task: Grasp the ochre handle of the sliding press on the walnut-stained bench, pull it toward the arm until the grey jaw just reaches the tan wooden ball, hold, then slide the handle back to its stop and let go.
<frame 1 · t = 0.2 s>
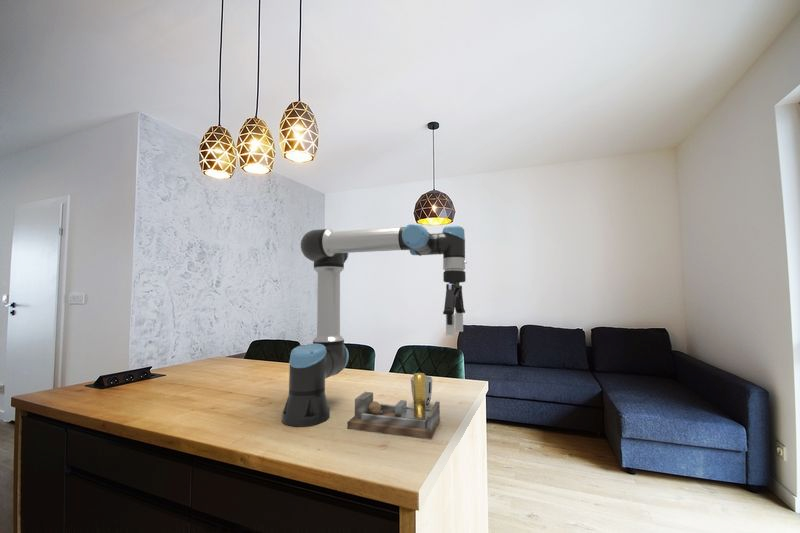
hand: (455, 333, 106), 28 cm above the worktop, fingers open, 13 cm apart
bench: (394, 424, 99), on the worktop
lever: (413, 396, 98), point 9 cm above the worktop, slide at 0.0 cm
cup: (421, 406, 117), on the worktop
nut: (374, 414, 101), point 2 cm above the worktop, touching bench
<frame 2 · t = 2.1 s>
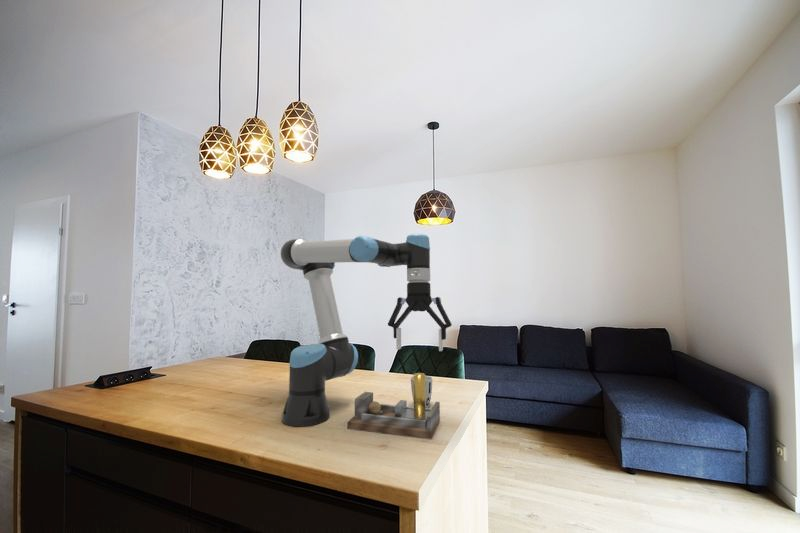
hand: (419, 349, 99), 23 cm above the worktop, fingers open, 13 cm apart
nothing on the worktop moved.
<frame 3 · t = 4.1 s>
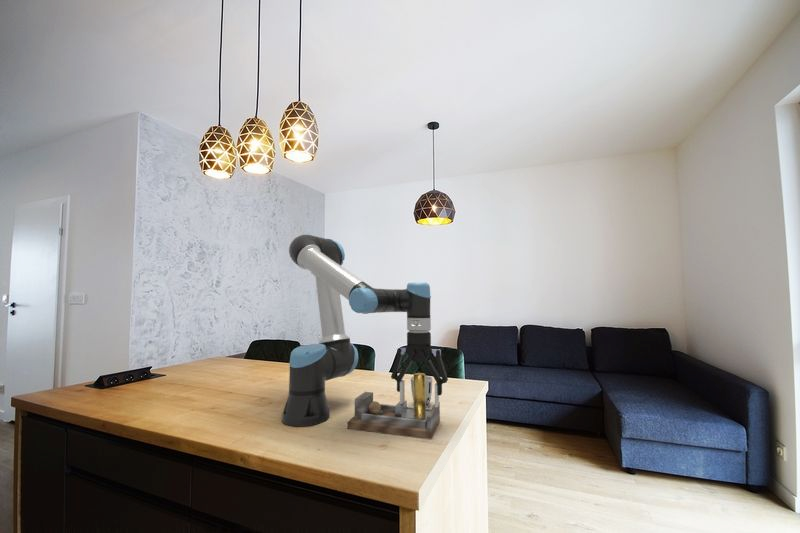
hand: (419, 404, 97), 7 cm above the worktop, fingers open, 10 cm apart
lever: (413, 396, 98), point 9 cm above the worktop, slide at -0.1 cm, touching gripper
everything else where it was.
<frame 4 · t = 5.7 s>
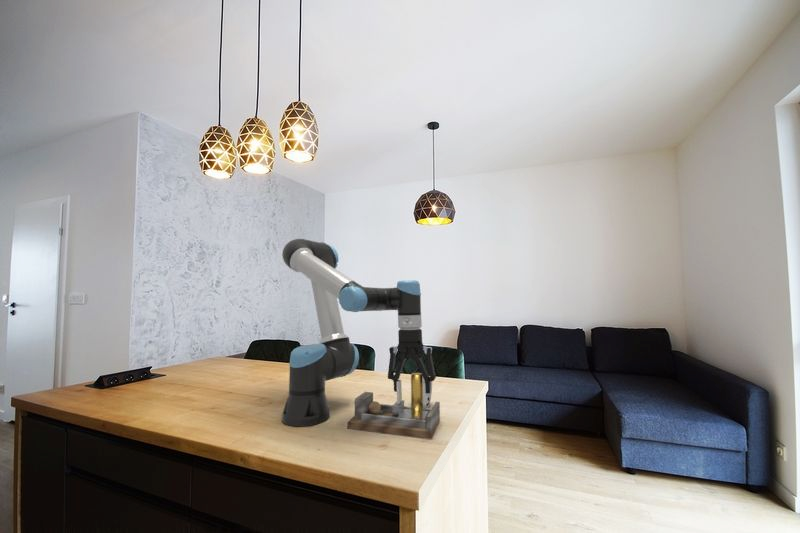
hand: (412, 403, 98), 7 cm above the worktop, fingers open, 8 cm apart
lever: (410, 396, 98), point 9 cm above the worktop, slide at 0.8 cm, touching gripper
everything else where it was.
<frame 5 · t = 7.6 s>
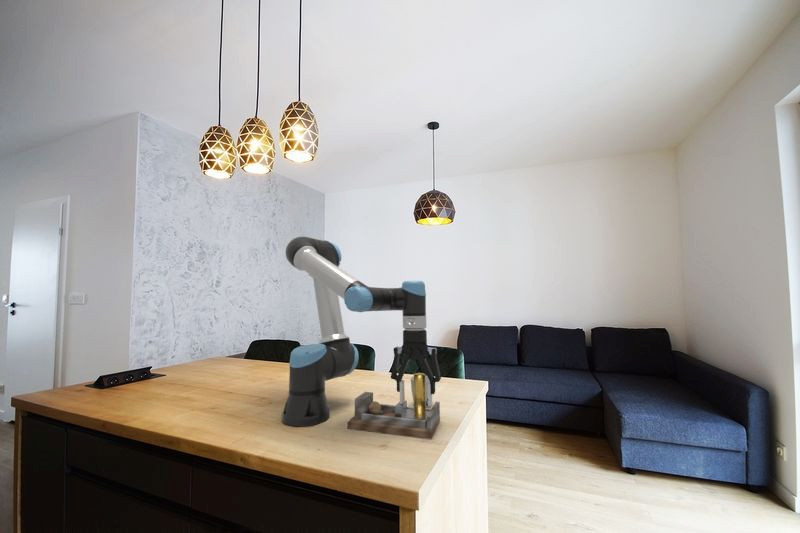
hand: (416, 403, 98), 7 cm above the worktop, fingers open, 8 cm apart
lever: (413, 396, 98), point 9 cm above the worktop, slide at -0.1 cm, touching gripper
everything else where it was.
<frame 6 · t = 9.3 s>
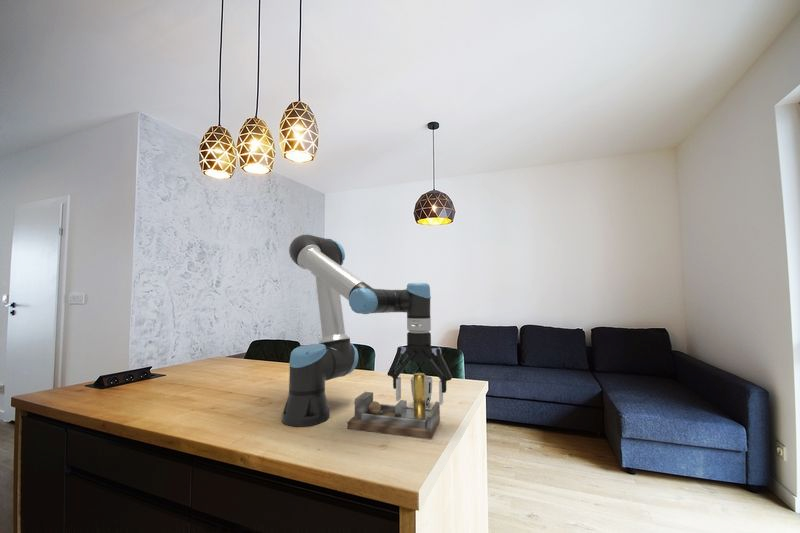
hand: (419, 401, 97), 8 cm above the worktop, fingers open, 13 cm apart
lever: (413, 396, 98), point 9 cm above the worktop, slide at 0.0 cm
everything else where it was.
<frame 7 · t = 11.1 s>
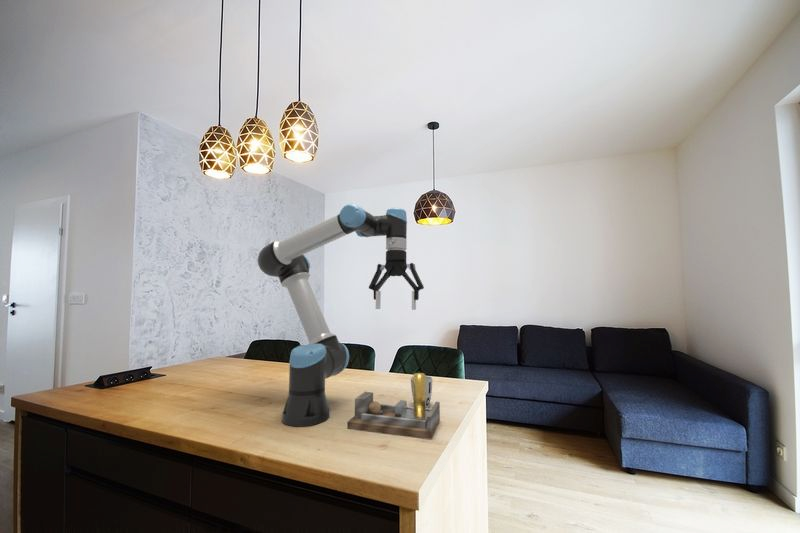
hand: (395, 309, 113), 36 cm above the worktop, fingers open, 13 cm apart
nothing on the worktop moved.
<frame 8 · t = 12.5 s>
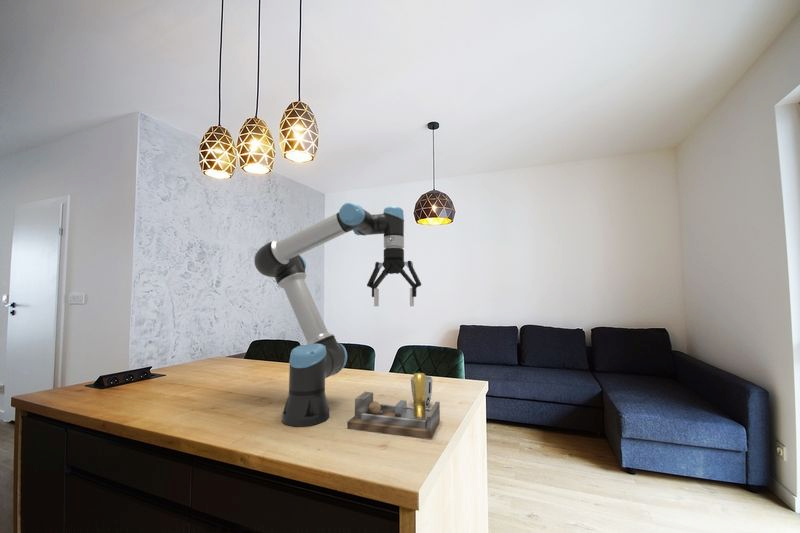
hand: (393, 306, 114), 37 cm above the worktop, fingers open, 13 cm apart
nothing on the worktop moved.
at the end: lever slide at 0.0 cm; nut moved 0.3 cm from its start; lever tilted 0° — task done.
